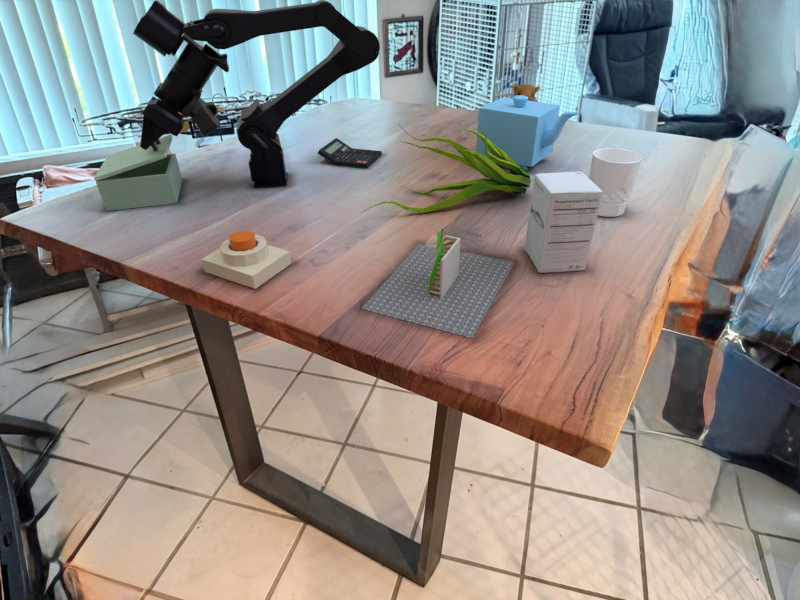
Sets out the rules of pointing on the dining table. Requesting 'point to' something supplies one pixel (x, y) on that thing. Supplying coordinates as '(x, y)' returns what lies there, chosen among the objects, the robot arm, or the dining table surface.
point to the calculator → (348, 155)
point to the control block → (247, 263)
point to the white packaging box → (562, 221)
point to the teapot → (521, 128)
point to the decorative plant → (482, 164)
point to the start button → (242, 240)
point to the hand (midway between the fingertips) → (145, 144)
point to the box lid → (133, 158)
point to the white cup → (614, 178)
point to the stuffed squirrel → (526, 91)
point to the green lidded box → (143, 185)
